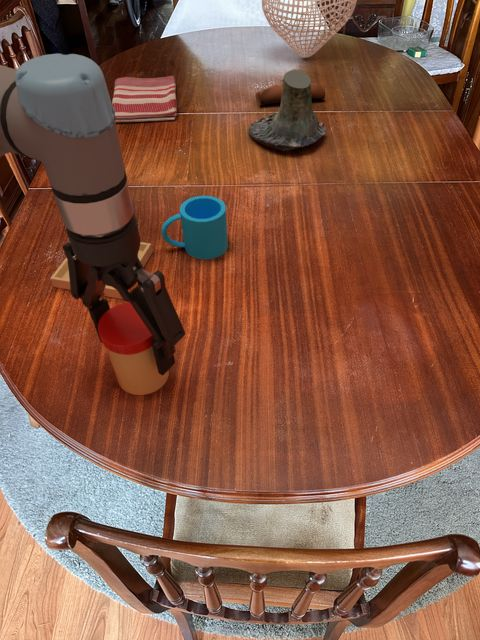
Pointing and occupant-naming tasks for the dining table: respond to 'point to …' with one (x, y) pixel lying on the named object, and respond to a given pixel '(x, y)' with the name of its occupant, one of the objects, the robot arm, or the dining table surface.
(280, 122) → the tree stump
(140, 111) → the dish towel
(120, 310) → the lid
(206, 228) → the mug
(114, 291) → the tray
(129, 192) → the robot arm
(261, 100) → the sunglasses case
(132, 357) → the jar
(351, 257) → the dining table surface
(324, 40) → the heart
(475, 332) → the dining table surface
